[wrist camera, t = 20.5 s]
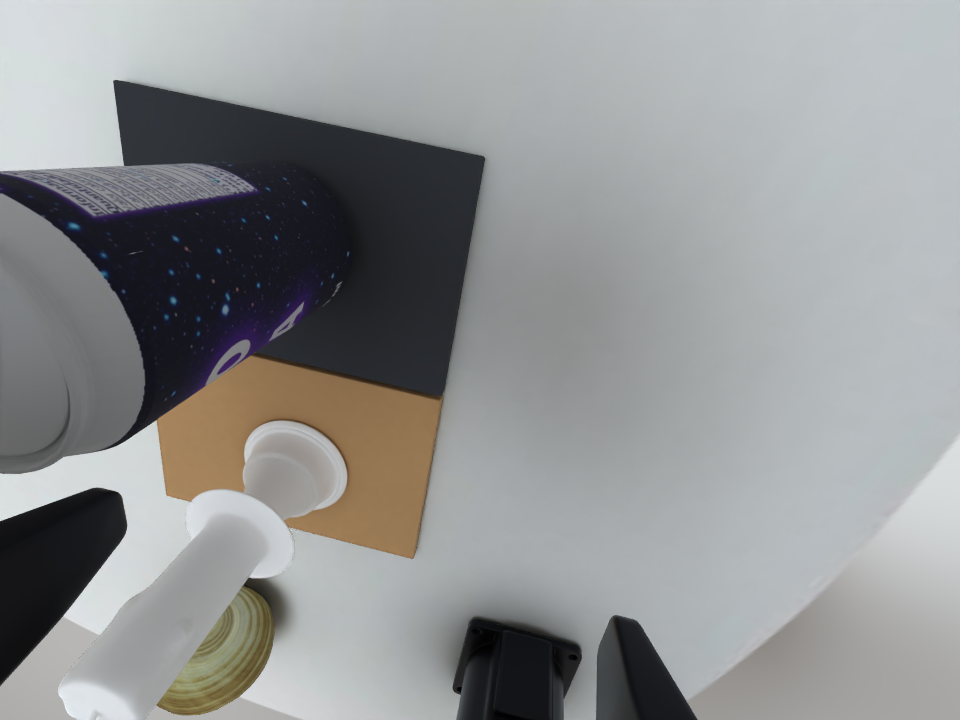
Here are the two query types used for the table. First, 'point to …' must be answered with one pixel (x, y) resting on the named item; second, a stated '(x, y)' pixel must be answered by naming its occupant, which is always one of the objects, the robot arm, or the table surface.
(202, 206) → the beverage can
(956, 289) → the table surface
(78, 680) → the candle
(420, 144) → the sorting mat
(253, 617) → the seashell
